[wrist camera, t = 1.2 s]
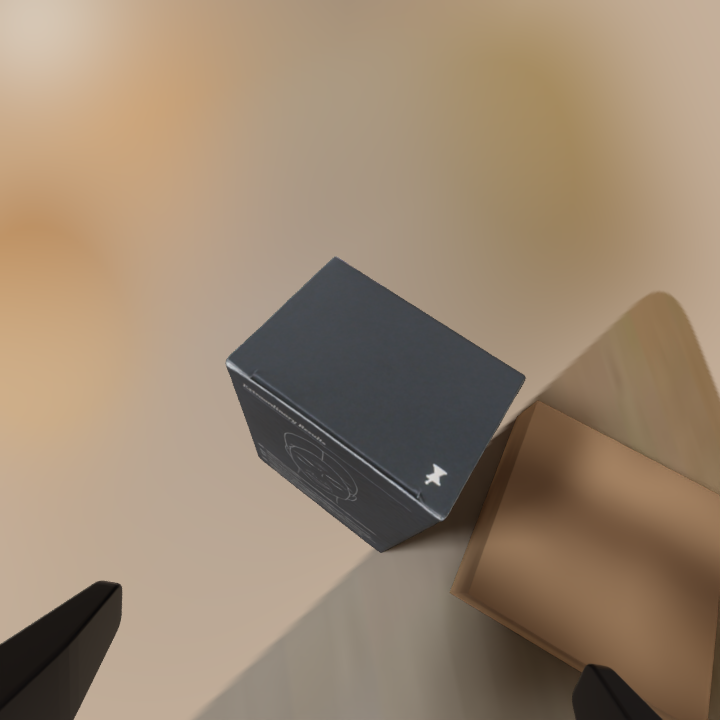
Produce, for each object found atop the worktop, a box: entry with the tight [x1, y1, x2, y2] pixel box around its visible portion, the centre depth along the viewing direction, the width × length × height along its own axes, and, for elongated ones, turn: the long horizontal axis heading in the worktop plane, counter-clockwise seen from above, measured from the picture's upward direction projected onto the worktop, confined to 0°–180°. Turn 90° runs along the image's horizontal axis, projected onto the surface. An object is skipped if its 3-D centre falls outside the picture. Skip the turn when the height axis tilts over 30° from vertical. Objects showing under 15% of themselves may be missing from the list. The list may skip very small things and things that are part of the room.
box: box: [226, 257, 525, 553], centre depth 18 cm, size 8×6×11 cm
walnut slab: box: [450, 400, 720, 720], centre depth 20 cm, size 10×10×2 cm
